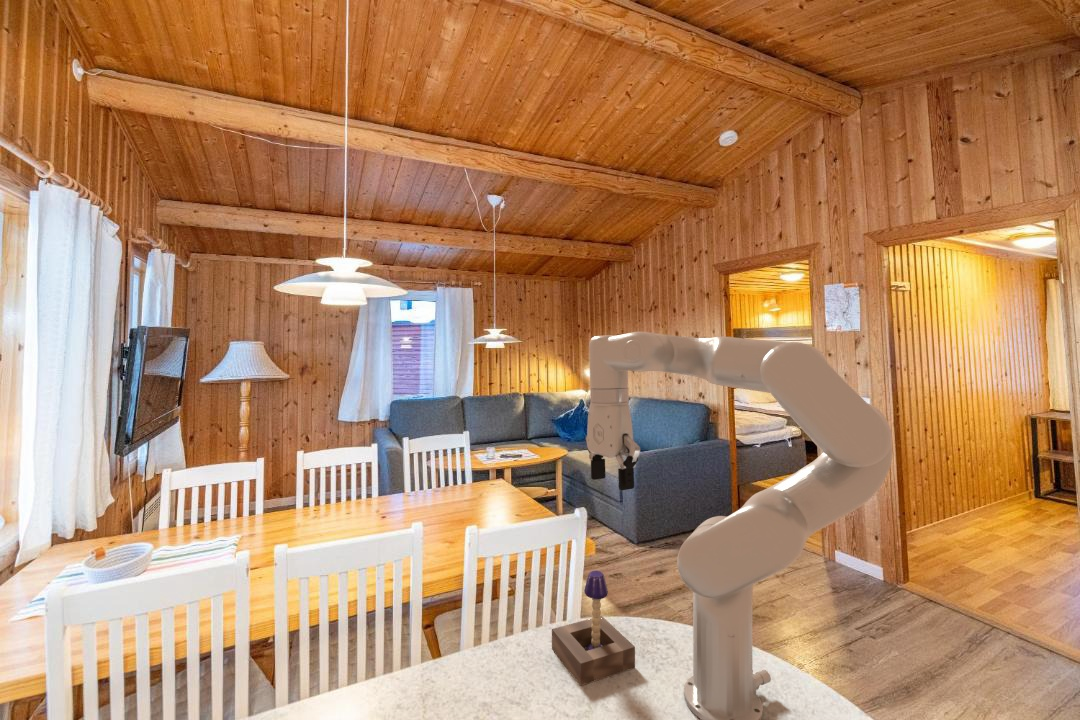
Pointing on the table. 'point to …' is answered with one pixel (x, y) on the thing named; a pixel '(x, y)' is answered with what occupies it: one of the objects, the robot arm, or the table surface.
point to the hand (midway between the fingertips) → (611, 483)
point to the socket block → (592, 651)
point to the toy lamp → (595, 604)
